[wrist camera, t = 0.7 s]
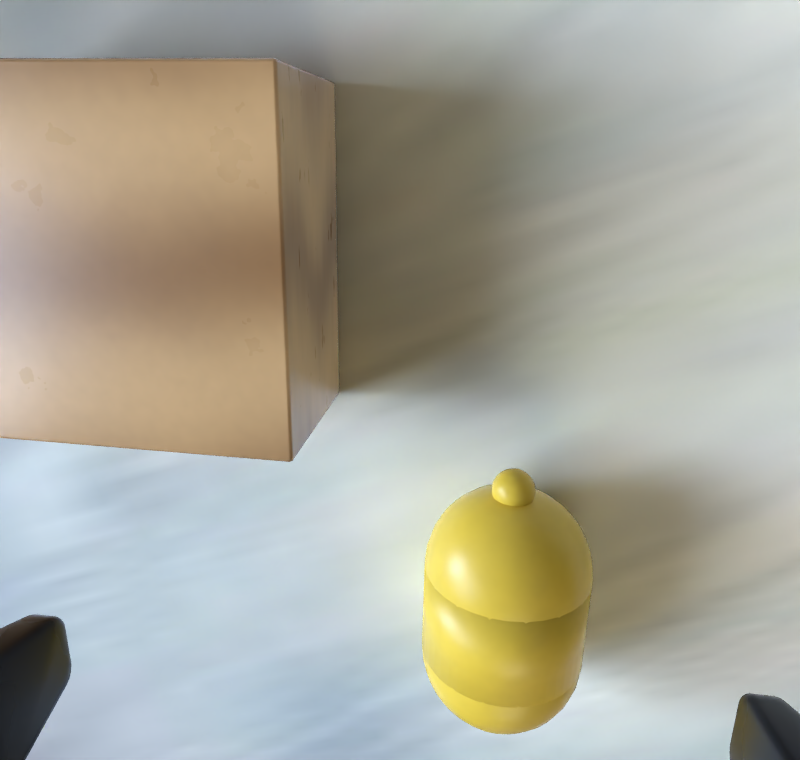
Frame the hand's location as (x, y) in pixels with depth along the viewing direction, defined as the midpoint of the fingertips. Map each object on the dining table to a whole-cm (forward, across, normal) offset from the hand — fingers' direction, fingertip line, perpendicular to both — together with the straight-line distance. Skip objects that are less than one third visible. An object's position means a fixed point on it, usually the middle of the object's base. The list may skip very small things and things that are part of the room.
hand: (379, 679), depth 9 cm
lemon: (+12, -2, +6) cm, 14 cm away
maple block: (+12, +8, -4) cm, 15 cm away
